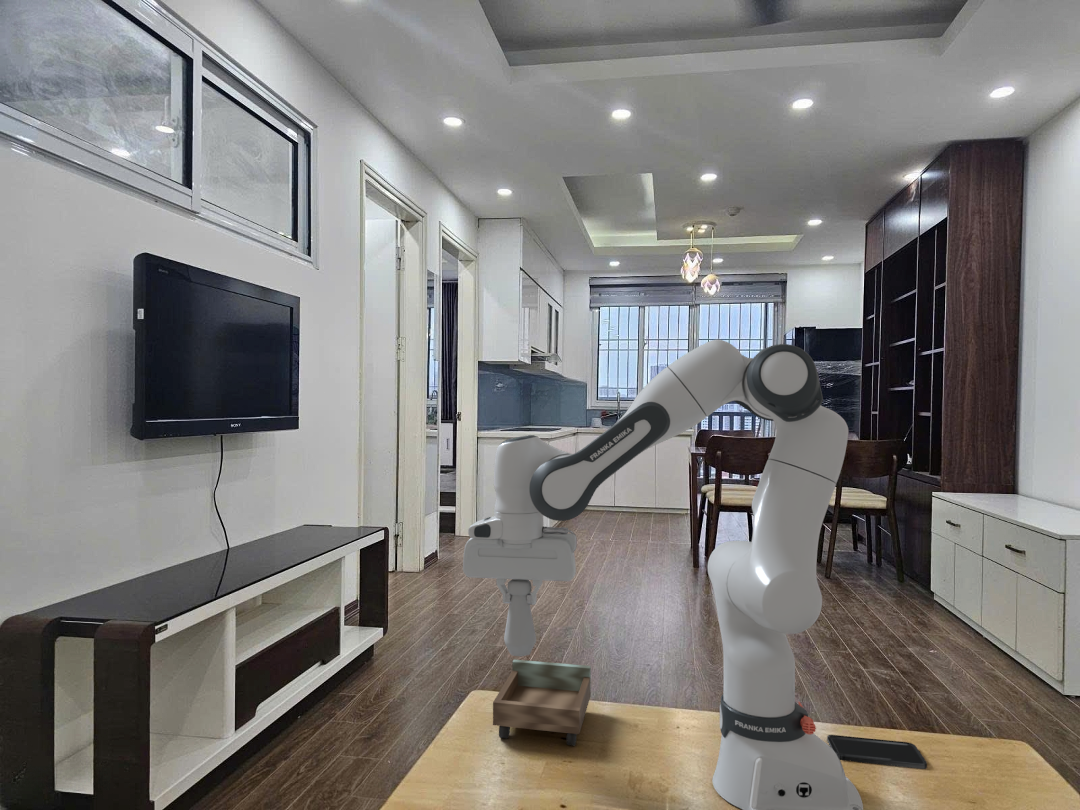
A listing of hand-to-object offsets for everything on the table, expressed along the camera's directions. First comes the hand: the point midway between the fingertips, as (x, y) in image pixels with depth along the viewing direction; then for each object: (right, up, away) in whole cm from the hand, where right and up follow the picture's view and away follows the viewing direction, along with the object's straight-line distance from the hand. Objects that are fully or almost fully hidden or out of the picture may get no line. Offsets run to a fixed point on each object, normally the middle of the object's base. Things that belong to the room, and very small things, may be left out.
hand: (519, 603), depth 120 cm
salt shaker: (0, -9, 0) cm, 9 cm away
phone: (+64, -28, 0) cm, 70 cm away
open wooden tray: (+4, -26, +9) cm, 28 cm away
